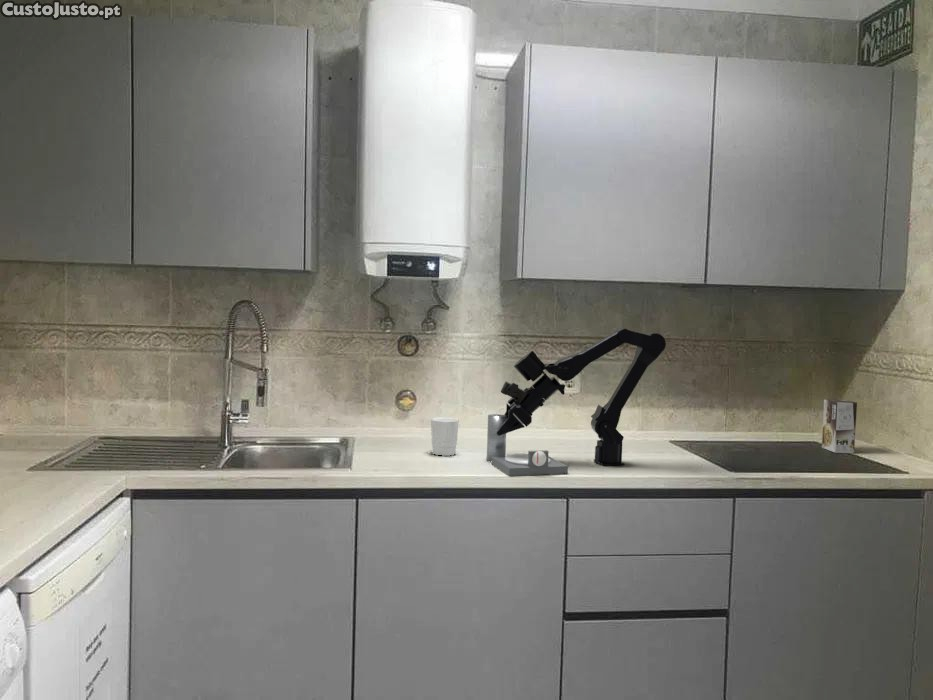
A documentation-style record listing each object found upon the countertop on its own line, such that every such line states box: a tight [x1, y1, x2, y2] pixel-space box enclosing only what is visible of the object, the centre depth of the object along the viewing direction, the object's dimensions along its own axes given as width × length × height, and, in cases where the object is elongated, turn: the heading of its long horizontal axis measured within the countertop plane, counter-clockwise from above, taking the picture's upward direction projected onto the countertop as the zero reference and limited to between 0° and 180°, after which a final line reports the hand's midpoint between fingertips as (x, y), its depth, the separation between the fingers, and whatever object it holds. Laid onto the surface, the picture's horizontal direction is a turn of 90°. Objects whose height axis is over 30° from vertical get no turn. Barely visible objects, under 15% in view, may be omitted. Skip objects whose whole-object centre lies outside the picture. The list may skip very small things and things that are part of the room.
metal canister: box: [486, 413, 507, 462], centre depth 202 cm, size 5×5×13 cm
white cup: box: [430, 416, 460, 457], centre depth 209 cm, size 8×8×10 cm
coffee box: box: [821, 398, 858, 454], centre depth 232 cm, size 9×6×16 cm
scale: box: [491, 449, 569, 477], centre depth 192 cm, size 16×14×6 cm
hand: (497, 431), depth 202 cm, fingers open, 9 cm apart
